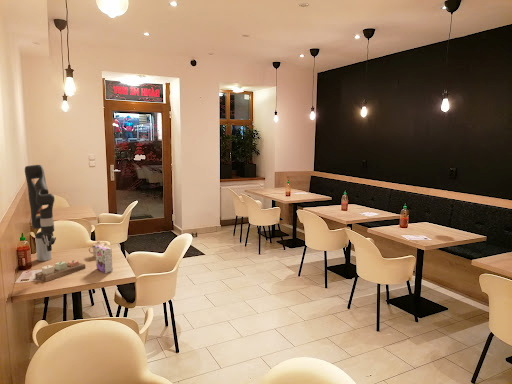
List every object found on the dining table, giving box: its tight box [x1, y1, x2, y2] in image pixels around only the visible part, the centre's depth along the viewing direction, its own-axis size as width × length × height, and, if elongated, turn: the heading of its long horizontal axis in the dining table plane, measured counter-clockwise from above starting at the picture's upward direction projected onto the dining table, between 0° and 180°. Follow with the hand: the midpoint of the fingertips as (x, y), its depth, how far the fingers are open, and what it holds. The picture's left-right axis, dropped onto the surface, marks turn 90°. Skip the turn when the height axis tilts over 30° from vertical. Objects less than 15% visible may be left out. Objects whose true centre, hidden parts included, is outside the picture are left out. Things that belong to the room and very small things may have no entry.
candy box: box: [95, 244, 114, 274], centre depth 262 cm, size 14×6×16 cm, turn 45°
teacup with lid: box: [88, 240, 106, 258], centre depth 295 cm, size 12×9×12 cm
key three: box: [66, 259, 80, 267], centre depth 266 cm, size 5×5×4 cm
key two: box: [54, 261, 67, 271], centre depth 258 cm, size 5×5×4 cm
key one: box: [41, 264, 55, 275], centre depth 250 cm, size 5×5×4 cm
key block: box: [34, 262, 86, 282], centre depth 258 cm, size 12×28×3 cm, turn 150°
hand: (49, 250), depth 249 cm, fingers closed
